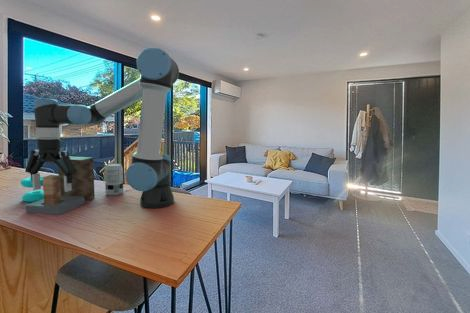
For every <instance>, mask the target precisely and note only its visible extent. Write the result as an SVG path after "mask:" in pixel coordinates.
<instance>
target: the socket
mask: <svg viewBox="0 0 470 313" xmlns="http://www.w3.org/2000/svg"><path fill="white" fill-rule="evenodd" d="M84 204H85V200H84V197H77V196H61V202H60V203H58V204H55V205H44V199H42V200H39V201H36V202H30V203H28V204H25V213H27V214H28V213H29V214H39V215H40V214H43V215H52V216H53V215H56V216H60V215H62V214H64V213H67V212H69V211H70V210H74V209H75V208H77V207H80V206H82V205H84Z"/></svg>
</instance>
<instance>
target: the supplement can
mask: <svg viewBox="0 0 470 313" xmlns="http://www.w3.org/2000/svg"><path fill="white" fill-rule="evenodd" d="M104 176H105V178H104V180H105V181H104V182H105V183H104V184H105V185H104V186H105V194H106V195H108V196H119V195H121V194H123V192H124V168H123V166H122V164H121V163H109V164H106V165H105V167H104Z"/></svg>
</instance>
